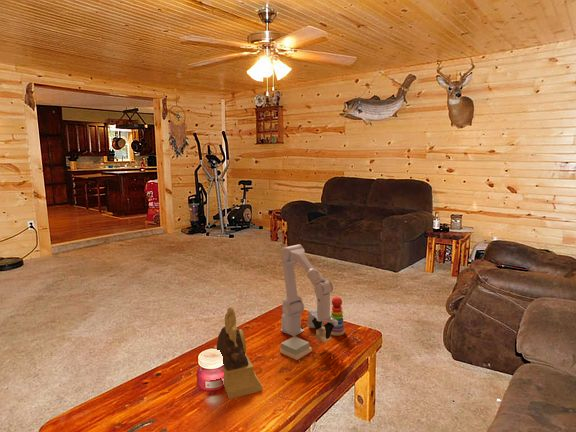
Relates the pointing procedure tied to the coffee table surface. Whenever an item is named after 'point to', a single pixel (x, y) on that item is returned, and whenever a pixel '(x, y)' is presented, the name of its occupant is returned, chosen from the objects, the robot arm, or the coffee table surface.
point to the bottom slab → (297, 354)
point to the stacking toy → (337, 316)
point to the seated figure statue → (236, 360)
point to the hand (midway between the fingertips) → (323, 336)
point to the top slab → (295, 345)
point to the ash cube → (322, 335)
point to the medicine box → (312, 318)
